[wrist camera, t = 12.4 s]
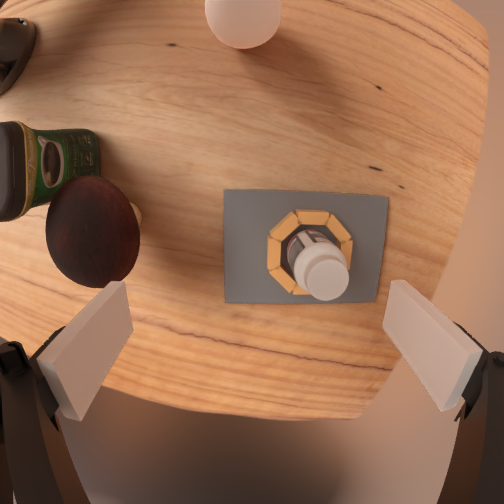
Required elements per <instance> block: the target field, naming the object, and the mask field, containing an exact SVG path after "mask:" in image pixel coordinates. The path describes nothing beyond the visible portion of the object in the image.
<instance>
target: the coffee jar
mask: <svg viewBox="0 0 504 504" xmlns="http://www.w3.org/2000/svg"><path fill="white" fill-rule="evenodd" d="M84 175H91V176H98V177H100V152H99V144H98V139H97V137H96V135H95V134H94V133H93V132H92V131H90V130H88V129H60V130H35V129H31V128H29V127H28V126H26V125H25V124H23V123H21V122H19V121H8V122H0V222H9V221H13V220H15V219H18V218H20V217H21V216H23V215H24V214H25V213H26V212H27V211H29V209H31V208H33V207H37V206H42V205H48V204H50V203H51V200H52V199H53V197H54V195H55V193H56V192H57V190H58V189H59V188H60V187H61V186H62V185H63V184H64V183H65V182H67V181H68V180H70V179H72V178H75V177H78V176H84Z"/></svg>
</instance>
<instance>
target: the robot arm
mask: <svg viewBox="0 0 504 504" xmlns="http://www.w3.org/2000/svg"><path fill="white" fill-rule="evenodd" d="M6 2H7V0H0V9H1V8H2V6H3V5H4V4H5V3H6ZM35 38H36V29H35V26H34V24H33V23H32V22H30V21H28V20H26V19H24V18H0V95H1V94H2V93H4V92H5V91H6V90H7V89H8V88H10V86H11V85H12V84H13V83H14V82H15V81H16V79H17V78H18V77H19V75H20V74H21V72H22V70H23V69H24V67H25V65H26V63H27V61H28V59H29V57H30V55H31V52H32V50H33V47H34V43H35ZM382 328H383V330H384V331H385V332H386V334H387V335H388V336H389V338H390V339H391V340H392V342H393V343H394V344H395V346H396V347H397V349H398V350H399V351H400V353H401V354H402V356H403V357H404V358H405V360H406V361H407V363H408V364H409V365H410V367H411V368H412V370H413V371H414V373H415V374H416V375H417V377H418V378H419V380H420V381H421V383H422V384H423V386H424V387H425V388H426V390H427V391H428V393H429V394H430V396H431V397H432V399H433V400H434V402H435V403H436V405H437V407H438V408H439V410H440V411H441V412H442V411H446V410H448V409H451V408H454V407H455V406H456V405H457V403H458V401H459V399H460V397H461V396H462V397H463V398H464V399H465V403H464V404H463V406H462V408H461V410H460V411H459V413H458V414H457V416H456V418H455V420H454V421H457V419H458V418H459V417H460V422H459V427H458V432H457V437H456V441H455V446H454V450H453V454H452V458H451V462H450V465H449V468H448V472H447V475H446V478H445V482H444V485H443V488H442V491H441V494H440V496H439V499H438V502H437V504H504V353H502V352H496V351H495V352H491V353H489V352H488V351H487V350H486V349H485V348H484V347H483V346H482V345H481V344H480V343H479V342H477V341H476V339H474V338H472V336H471V335H470V334H469V333H467V331H466V330H465V329H464V328H463V327H462V326H460V325H459V324H457V323H455V322H453V321H451V320H450V319H449V318H448V317H447V316H446V315H445V314H444V313H442V312H441V311H440V310H439V309H438V308H437V307H436V306H434V305H433V304H432V303H431V302H430V301H429V300H428V299H426V298H425V297H424V296H423V295H422V294H421V293H419V292H418V291H417V290H416V289H415V288H414V287H412V286H411V285H410V284H409V283H408V282H406V281H405V280H404V279H401V280H391V285H390V291H389V296H388V301H387V306H386V311H385V315H384V320H383V324H382ZM133 330H134V329H133V324H132V320H131V315H130V310H129V304H128V299H127V293H126V287H125V282H123V281H111V282H110V283H109V284H108V285H107V286H106V287H105V288H103V289H102V290H101V291H100V292H99V293H98V294H97V295H96V296H95V297H94V298H93V299H92V300H91V301H90V302H89V303H88V304H87V305H86V306H85V307H84V308H83V309H82V310H81V311H80V312H79V313H78V314H77V315H76V316H75V318H74V319H73V320H72V321H71V322H70V323H69V324H68V325H67V326H64V327H62V328H60V329H59V330H57V331H55V332H54V333H53V334H52V335H51V336H50V337H49V340H47V341H46V342H45V343H44V345H42V346H41V347H40V348H39V349H38V350H37V351H36V352H35V354H34V355H33V356H32V357H31V358H30V359H29V360H28V358H27V356H26V353H25V351H24V349H23V346H22V344H21V343H19V342H16V341H11V342H7V343H4V344H2V345H1V346H0V504H13V491H14V495H15V499H16V502H17V504H91V503H90V501H89V499H88V497H87V495H86V493H85V491H84V489H83V487H82V484H81V482H80V479H79V477H78V475H77V472H76V470H75V467H74V465H73V462H72V459H71V457H70V454H69V451H68V448H67V445H66V442H65V439H64V436H63V433H62V430H61V426H60V423H59V420H58V417H57V415H56V414H55V411H56V410H57V408H58V407H60V409H61V411H62V412H63V414H64V416H65V417H67V418H70V419H74V420H77V421H82V419H83V417H84V415H85V413H86V411H87V410H88V408H89V406H90V404H91V402H92V400H93V399H94V396H95V395H96V393H97V391H98V390H99V388H100V386H101V384H102V383H103V381H104V379H105V377H106V376H107V374H108V372H109V370H110V369H111V367H112V365H113V364H114V362H115V360H116V358H117V357H118V355H119V353H120V352H121V350H122V348H123V347H124V345H125V343H126V342H127V340H128V338H129V337H130V335H131V334H132V332H133Z"/></svg>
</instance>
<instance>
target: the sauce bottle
mask: <svg viewBox="0 0 504 504" xmlns="http://www.w3.org/2000/svg"><path fill="white" fill-rule="evenodd" d="M205 15H206V19H207V22H208V25H209V27H210V29H211V31H212V33H213V34H214V35H215V37H216V38H217V39H218V40H219V41H221V42H222V43H224V44H225V45H227V46H230V47H232V48H238V49H247V48H253V47H257V46H259V45H262V44H263V43H265V42H267V41H268V40H269V39H270V38H272V37H273V35H274V34H275V32H276V31H277V29H278V27H279V24H280V21H281V15H282V3H281V0H205Z"/></svg>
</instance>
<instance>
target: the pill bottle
mask: <svg viewBox="0 0 504 504" xmlns="http://www.w3.org/2000/svg"><path fill="white" fill-rule="evenodd" d="M287 259H288V262H289V264H290V267H291V269H292V272H293V274H294V277H295V280H296V282H297V283H298V285H299V286H300V287H301V288H302V289H303V290H304V291H306V292H307V293H310V294H311V295H312V296H313V297H315V298H317V299H319V300H323V301H328V300H333V299H335V298H337V297H339V296H340V295H341V294H342V293H343V292H344V291H345V290H346V288H347V286H348V282H349V274H348V270H347V262H346V259H345V256H344V254H343V253H342V252H341V250H340V249H339V248H338V247H337V246H335V245H334V244H333V243H332V242H331V241H330V240H329V239H328V238H327V237H326V236H325V235H323V234H322V233H321V232H319V231H316V230H303V231H300V232H298V233H297V234H296V235H294V236H293V237H292V238H291V240H290V242H289V243H288V246H287Z"/></svg>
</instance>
